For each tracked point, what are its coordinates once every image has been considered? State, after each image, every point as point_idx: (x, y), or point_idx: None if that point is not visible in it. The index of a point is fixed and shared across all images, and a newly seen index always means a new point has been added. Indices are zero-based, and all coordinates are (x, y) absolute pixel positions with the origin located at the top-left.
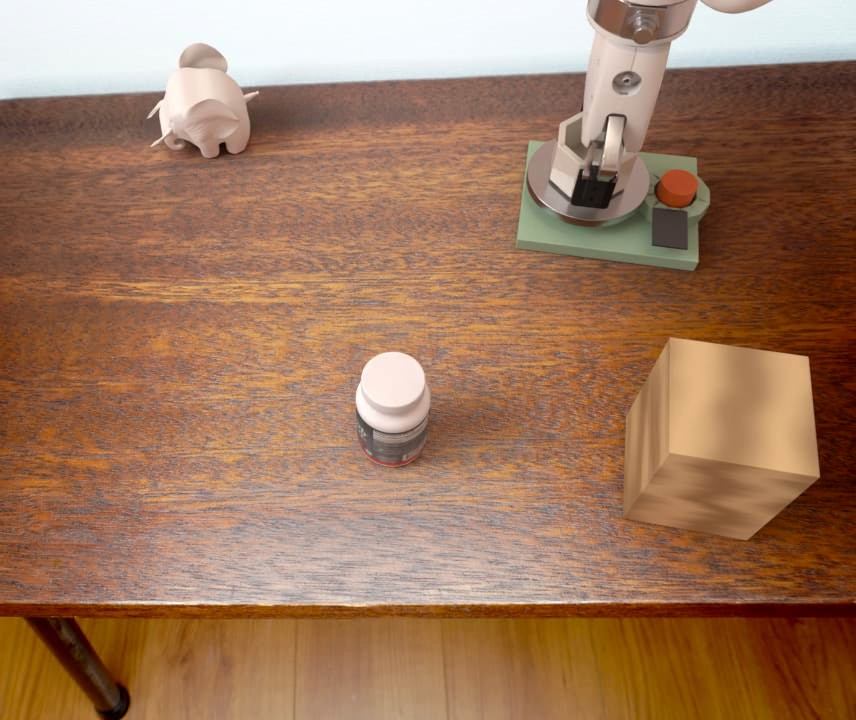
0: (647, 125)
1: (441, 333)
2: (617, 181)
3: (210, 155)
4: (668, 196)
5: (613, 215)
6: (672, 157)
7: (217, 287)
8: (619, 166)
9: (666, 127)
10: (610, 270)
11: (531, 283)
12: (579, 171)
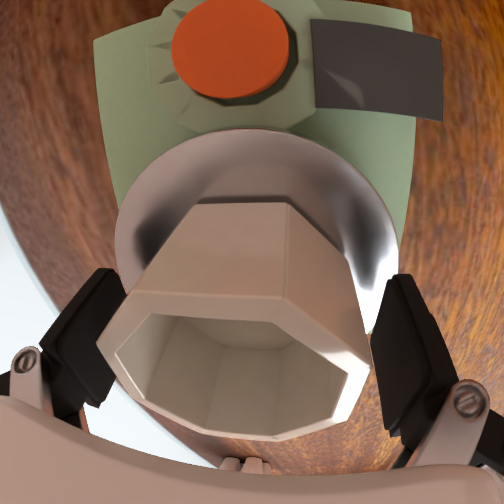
0: None
1: (469, 355)
2: (331, 270)
3: (269, 467)
4: (282, 69)
5: (386, 227)
6: (101, 82)
7: (384, 448)
8: (477, 438)
9: (43, 113)
10: (419, 174)
11: (434, 291)
12: (399, 435)
